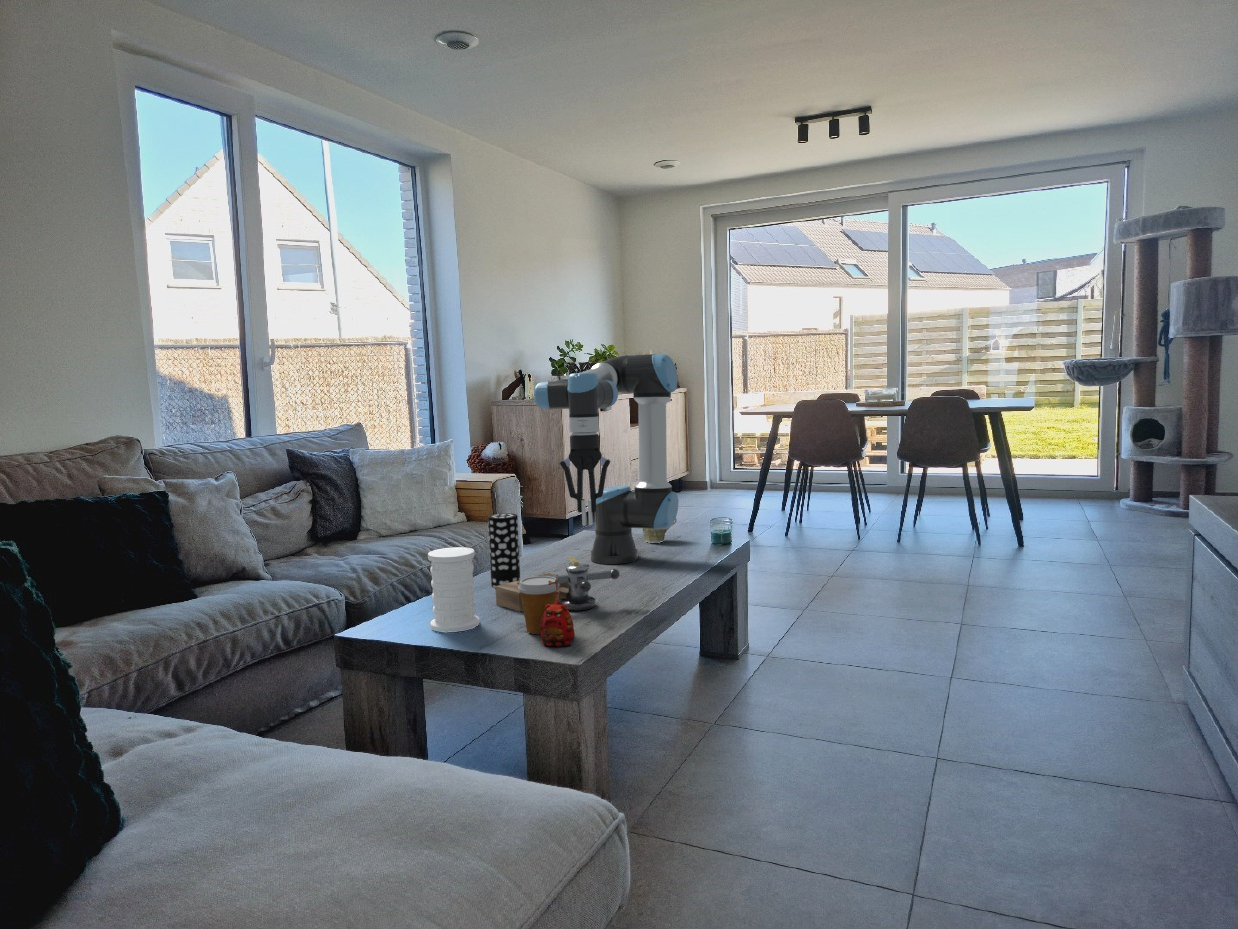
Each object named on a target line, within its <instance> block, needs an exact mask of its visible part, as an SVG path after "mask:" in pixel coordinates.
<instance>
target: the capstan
mask: <svg viewBox="0 0 1238 929" xmlns="http://www.w3.org/2000/svg"><path fill="white" fill-rule="evenodd" d="M568 561H570V562H571V564H567V565H565V571H566V573H567V574H560V575H559V574H558V579H559V580H558V579H557V580H558V583H566V582H568V589H569V598H568V599H565V598H563V599H561V600H560V601H559V602H560V604H561V605H566V606H567V609H568V611H577V612H578V611H579V612H580V611H586V610H589V609H593V608H594V607H596V598H595V597H593V596H592V595H591V596H590V595H589V592H590V590H591V588H592V585H591V583H590V582H589V581H599V580H608V579H612V580H617V579H618V578H619V577H620V571H619V570H618V569H616V568H613V569H611V570H604V571H603V570H602V571H601V570H600V571H592V572H588V570H590V564H588V563H581V562H579V561H578V560H577V559H576V557H574V555H573V556H572V555H571V556H569V557H568ZM555 575H556V576H551V577H555V578H557V574H555Z"/></svg>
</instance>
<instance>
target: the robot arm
mask: <svg viewBox="0 0 1238 929" xmlns="http://www.w3.org/2000/svg"><path fill="white" fill-rule="evenodd" d="M677 388H678V373H677V368H676V365H675V363H674V361H673V359H672V358H671V356H669V355H667V354H661V353H652V354H633V355H632V354H631V355H626V354H625V355H620V356H619V355H618V356H615V357H612V358H609V359H606V360H604V361H600V362H598V363H596V364H594V365H593V366H591V368H590V369H588V370H584V371H582V372H578V373H577V372H575V373H570V374H568V376H567V377H563V378H561V379H557V380H554V381H549V380H547V381H542V382H539V383H537V384H536V385H535V388H534V393H533V395H534V396H533V398H534V402H535V405H536V406H537V407H538V408H539V409H541V410H549V411H550V410H568V411H569V412H568V416H569V417H568V418H569V420H568V421H569V424H568V425H569V433H571V434H570V436H569V448H570V451H569V454H568V457H567V458H565V459H564V460H561V461H560V463H559V465H560V466H561V469H563V472H564V476H565V481H566V485H567V489H568V493H569V497H570V498H571V499H575V500H576V501H577V512H578V513H581V520H582V521H581V524H582V526H585V527H586V526H587V512H588V527H589V526H593V524H594V530H595V533H594V534H595V535H594V536H595V538H594V541H593V545H592V550H591V551H590V561H591V562H594V563H597V564H603V565H618V564H619V565H621V564H628V563H633V562H636V560H637V561H638V559H639V556H638V554H639V552H638V549H637V548H636V544H635V541H634V538H633V532H632V529H642V528H645V529H655V530H657V529H668V528H669V529H670V528H671V527H673V526H674V525H673V523H674V522H675V519H677V515H678V510H679V498H678V497H679V496H678V493H677V492H675V491H672V490H673V489H672V488H673V486H672V485H671V483H669V481H668V479H667V478H668V477H667V475H668V473H667V461H668V460H667V403H668V402H669V401H670V400H671V399H672V393H674V392H676V390H677ZM619 393H623V394H625V393H626V394H629V393H631V394H632V395H633V400H634V401H635V402H636V403H637V404H638V406H637V407H638V412H637V413H638V477H639V478H638V482H636V484H635V485H634V491H633V490H632V488H631V486H629V485H620V486H619V485H618V486H612V487H607V488H605V483H606V479H607V478H606V477H607V472H608V467H609V466H610V463H611V459H609V458H606V457H604V456H603V454H602V452H601V449H600V447H601V446H600V435H599V433H598V432H600V422H599V421H600V418H599V417H600V416H599V409H600V410H601V409H603V410H604V409H605V410H606V409H607V408H610V407H612V406H614V405H615V404H616V402H617V401H618V398H619ZM599 462H600V466H602V467H601V473H600V477H599V483H598V484H599V485H598V490H597V489H596V478H595V468H596V466H597V465H598V463H599ZM571 464H572V465H573V466H574V467H575V468H576V476H577V477H576V483H577V484H576V486H577V487H576V488H575V486H574V481H573V477H572V476H573V475H572V473H571V469H570V467H571ZM584 470H585V471H586V470H587V472H588V474H587V475H588V482H589V483H588V484H589V494H590V498H589V499H588V500H586V499H587V498H584V499H583V497H584V496H583V495H584V494H583V493H584V487H583V486H584ZM586 501H587V502H586ZM586 503H587V504H586ZM586 505H587V506H586ZM586 508H587V509H586ZM587 510H588V511H587ZM593 513H594V519H593ZM669 529H668V530H669Z"/></svg>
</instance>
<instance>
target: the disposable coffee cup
mask: <svg viewBox="0 0 1238 929" xmlns="http://www.w3.org/2000/svg"><path fill="white" fill-rule="evenodd" d="M555 579H556V578H555V577H551V576H539V575H535V576H528V577H525V578H522V579H520V584H519V586H518V589H519V591H520V593H521V598H522V605H523V610H524V611H523V614H524V615H523V616H524V621H525V626H526V633H528V632H529V633H533V634H541V629H540V625H541V619H542V616H543V613H544V611H545V606H546V605H547V604H550V605H553V604H555V603H556V597H557V594H556V591H557V590H556V584H551V585H549V582H548V581H551V582H555ZM558 587H559V583H558ZM529 633H528V634H529Z"/></svg>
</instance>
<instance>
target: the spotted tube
mask: <svg viewBox="0 0 1238 929" xmlns="http://www.w3.org/2000/svg"><path fill="white" fill-rule="evenodd" d="M518 521H519V520H518V514H516V513H507V512H505V513H504V512H503V513H494V514H489V515H488V516H487V525H488V526H487V527H488V544H489V546H488V547H489V564H490V565H489V566H490V567H489V568H490V585H491V586H490V587H492V588H494V589H496V586H498V585H502V584H506V583H511V582H515V581H519V580H521V568H520V567H521V566H520V564H521V563H520V544H519V539H520V538H519V522H518Z"/></svg>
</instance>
